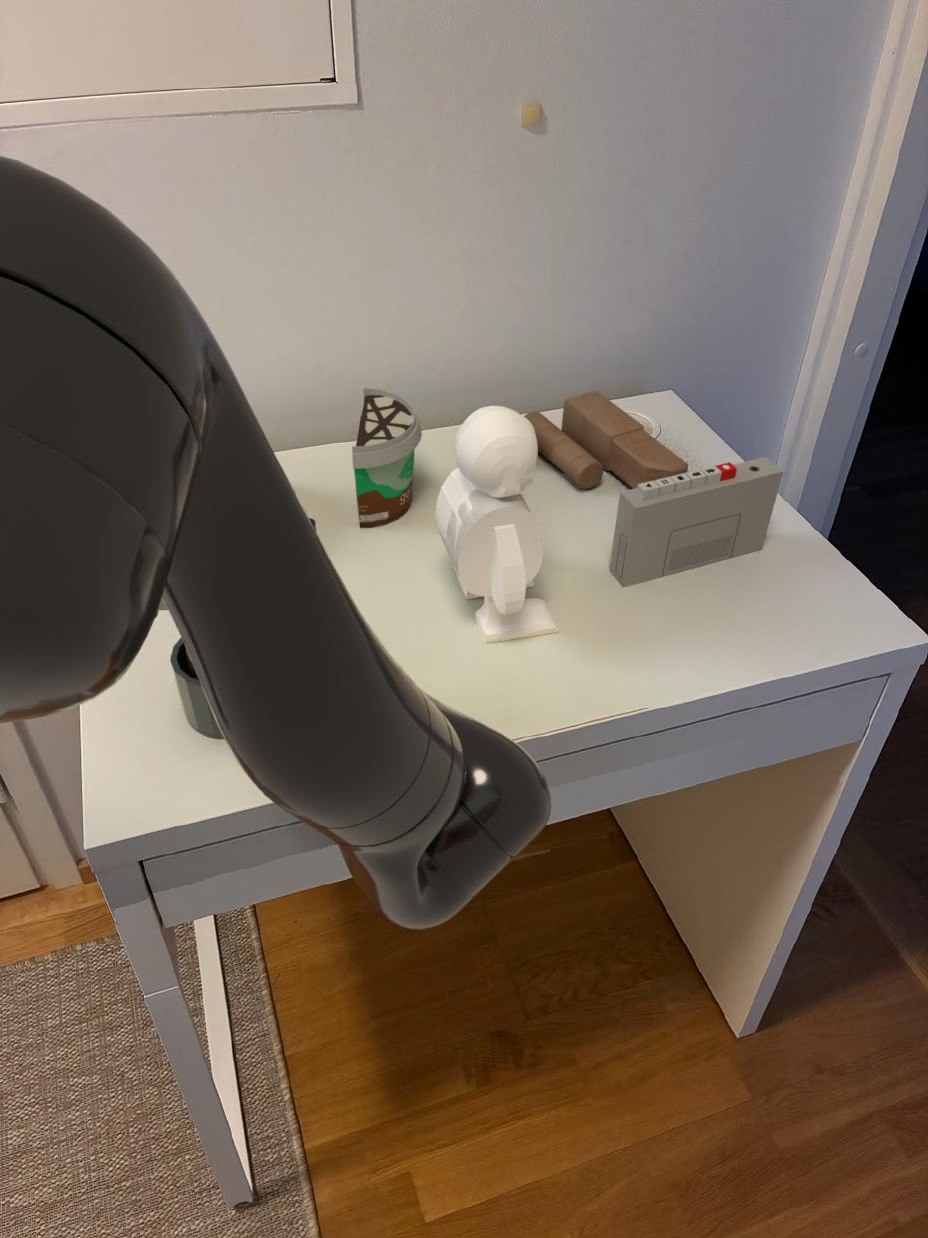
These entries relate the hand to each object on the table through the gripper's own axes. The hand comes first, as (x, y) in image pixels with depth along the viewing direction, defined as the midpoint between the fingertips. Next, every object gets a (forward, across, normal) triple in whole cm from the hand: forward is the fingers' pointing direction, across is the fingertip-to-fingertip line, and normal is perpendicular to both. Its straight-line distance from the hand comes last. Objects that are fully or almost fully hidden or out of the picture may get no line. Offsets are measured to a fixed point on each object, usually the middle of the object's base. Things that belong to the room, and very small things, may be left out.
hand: (173, 501), depth 68 cm
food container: (+14, -26, +18) cm, 35 cm away
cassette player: (-11, -44, +18) cm, 49 cm away
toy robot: (-5, -25, +18) cm, 32 cm away
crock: (-3, 0, +18) cm, 19 cm away
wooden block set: (+6, -44, +18) cm, 49 cm away
